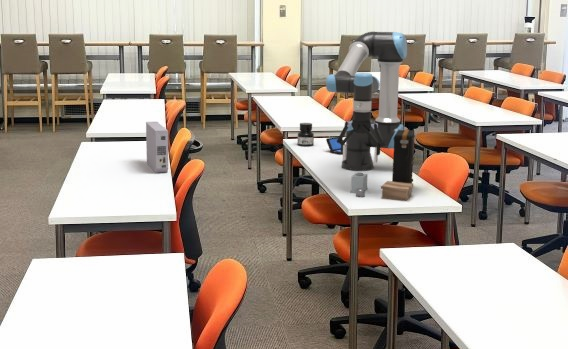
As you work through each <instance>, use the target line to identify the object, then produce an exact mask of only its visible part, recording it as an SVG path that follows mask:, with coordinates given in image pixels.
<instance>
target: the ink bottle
mask: <svg viewBox="0 0 568 349" xmlns="http://www.w3.org/2000/svg"><path fill="white" fill-rule="evenodd" d="M314 135H315V133H314V132H313V123H311V122H300V123H299V131H298V133H297V145H298V146H299V147H312V146H314V143H315V142H314V138H315V136H314Z"/></svg>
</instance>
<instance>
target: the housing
mask: <svg viewBox="0 0 568 349" xmlns="http://www.w3.org/2000/svg"><path fill="white" fill-rule="evenodd" d="M350 180H351V184H350V192H349V193H350V194H356V189H358V188H362V189H365V192H366V191H368V189H369V188H368V173H363V172H355V173H354V174H353V175H351V179H350Z"/></svg>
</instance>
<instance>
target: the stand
mask: <svg viewBox="0 0 568 349" xmlns="http://www.w3.org/2000/svg"><path fill="white" fill-rule="evenodd" d="M413 187H414V183H413V182H412V183H403V182H393V181H391V180H387V181H386V182H384V183H383V184H382V185H380V189H381V192H382V193H381V199H386V200H387V199H388V200H394V201H395V200H397V201H404V202H405V201H407V200H408V199H409V198H410V197H411V196H412V192H413V191H412V188H413Z"/></svg>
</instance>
